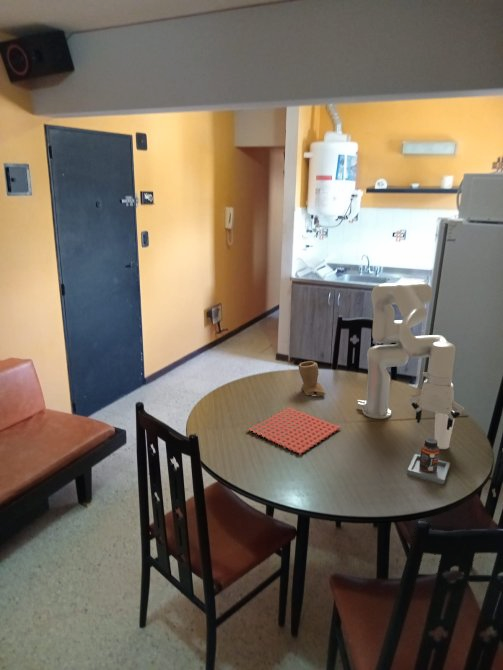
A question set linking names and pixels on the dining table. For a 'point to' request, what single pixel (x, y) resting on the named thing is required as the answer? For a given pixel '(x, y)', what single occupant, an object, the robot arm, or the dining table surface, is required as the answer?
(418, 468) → the tray
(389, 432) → the dining table surface
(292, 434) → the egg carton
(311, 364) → the tan boot-shaped piece
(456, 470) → the dining table surface
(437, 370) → the robot arm
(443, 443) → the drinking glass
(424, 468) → the supplement bottle
